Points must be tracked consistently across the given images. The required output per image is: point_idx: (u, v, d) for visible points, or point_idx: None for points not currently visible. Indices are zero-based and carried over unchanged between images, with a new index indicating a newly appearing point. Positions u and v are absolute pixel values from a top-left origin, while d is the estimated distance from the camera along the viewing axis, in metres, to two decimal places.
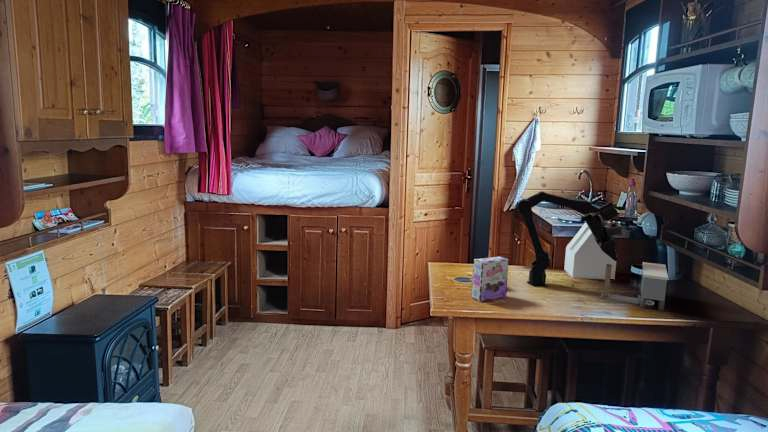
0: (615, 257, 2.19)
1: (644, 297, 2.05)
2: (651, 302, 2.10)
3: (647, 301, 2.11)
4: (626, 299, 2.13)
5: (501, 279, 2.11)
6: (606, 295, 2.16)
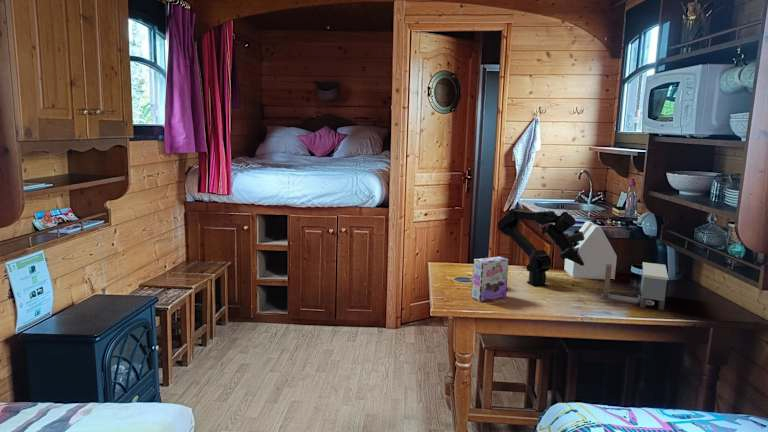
0: (581, 262, 2.20)
1: (644, 297, 2.05)
2: (651, 302, 2.10)
3: (647, 301, 2.11)
4: (626, 299, 2.13)
5: (501, 279, 2.11)
6: (606, 295, 2.16)
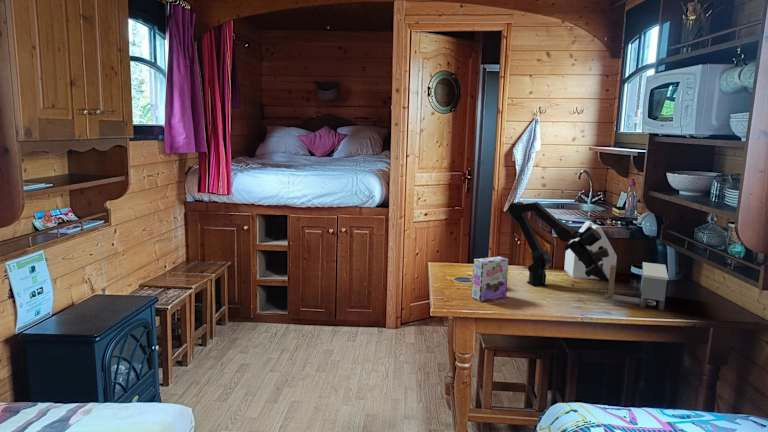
0: (606, 278, 2.16)
1: (644, 297, 2.05)
2: (653, 302, 2.10)
3: (649, 301, 2.11)
4: (630, 300, 2.13)
5: (501, 279, 2.11)
6: (610, 296, 2.15)
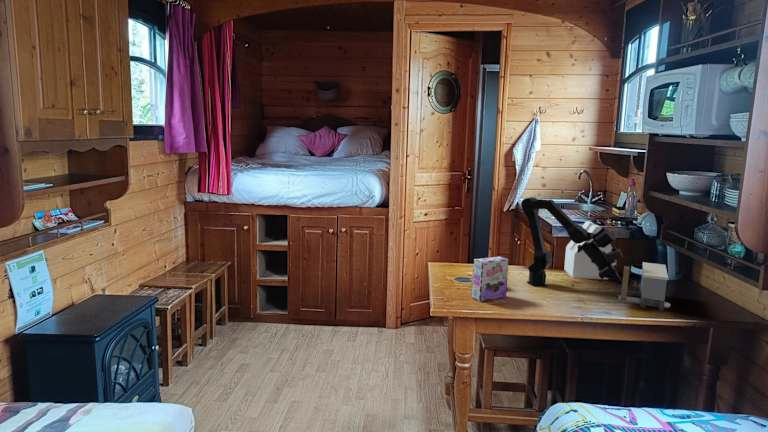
0: (619, 280, 2.14)
1: (644, 297, 2.05)
2: (667, 304, 2.08)
3: None
4: None
5: (501, 279, 2.11)
6: (624, 298, 2.13)
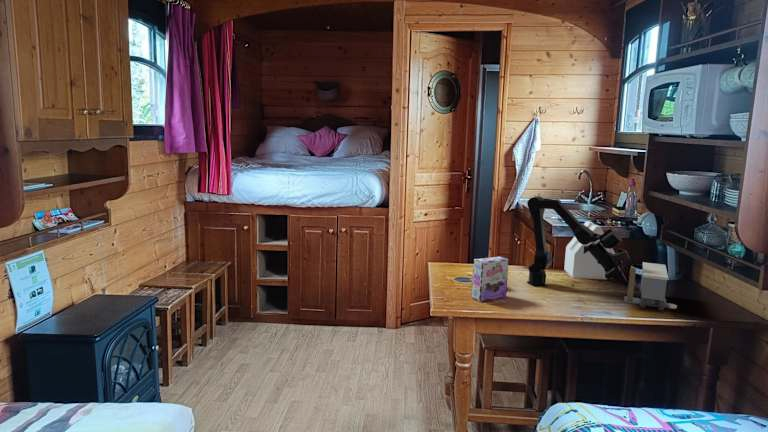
0: (625, 282, 2.13)
1: (644, 297, 2.05)
2: (674, 305, 2.07)
3: (669, 304, 2.08)
4: (651, 303, 2.10)
5: (501, 279, 2.11)
6: (630, 299, 2.12)
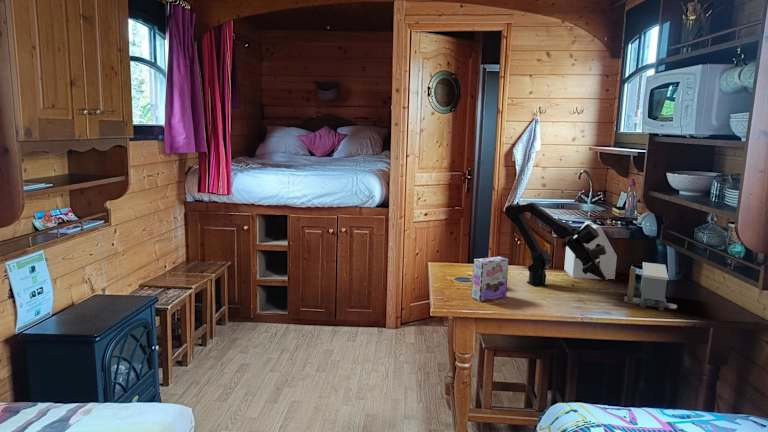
0: (602, 276, 2.17)
1: (644, 297, 2.05)
2: (674, 305, 2.07)
3: (670, 304, 2.08)
4: (651, 303, 2.10)
5: (501, 279, 2.11)
6: (630, 299, 2.12)
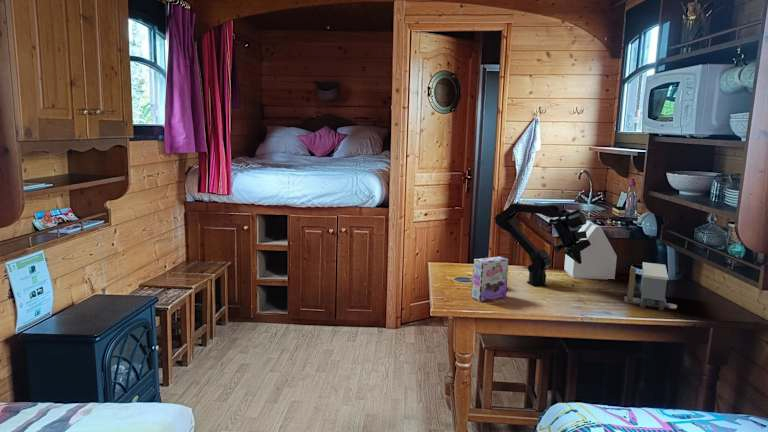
0: (580, 259, 2.24)
1: (644, 297, 2.05)
2: (674, 305, 2.07)
3: (670, 304, 2.08)
4: (651, 303, 2.10)
5: (501, 279, 2.11)
6: (630, 299, 2.12)
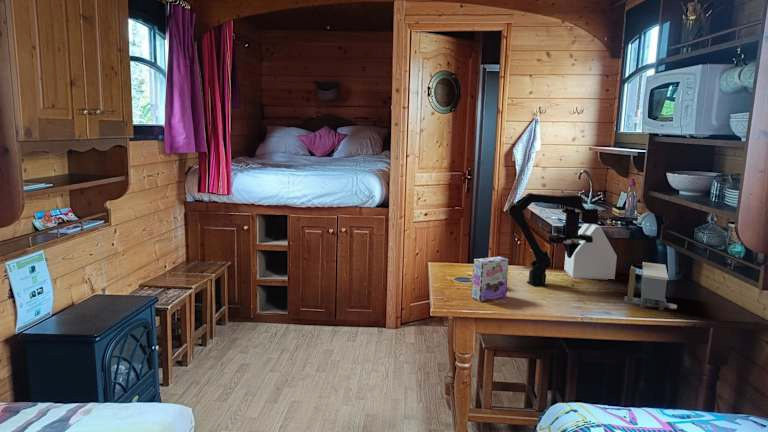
0: None
1: (644, 297, 2.05)
2: (674, 305, 2.07)
3: (670, 304, 2.08)
4: (651, 303, 2.10)
5: (501, 279, 2.11)
6: (630, 299, 2.12)
